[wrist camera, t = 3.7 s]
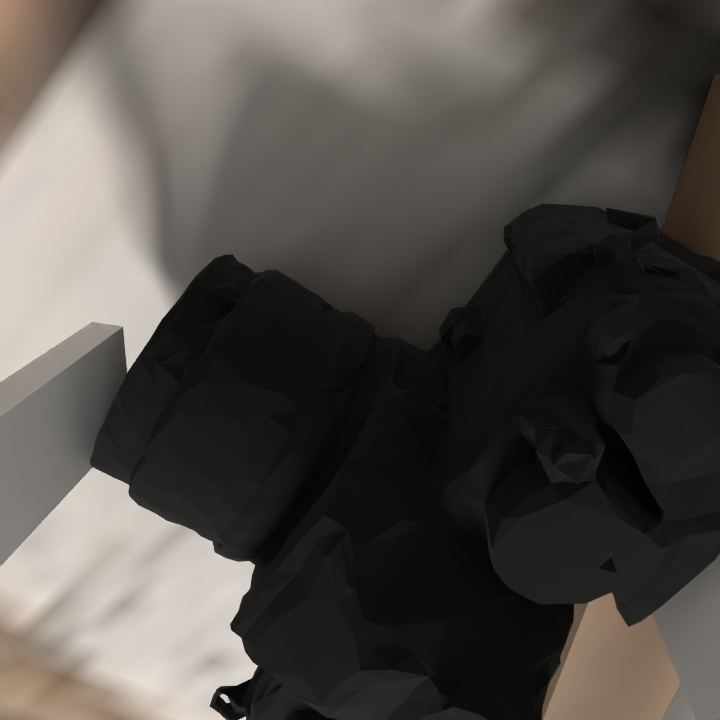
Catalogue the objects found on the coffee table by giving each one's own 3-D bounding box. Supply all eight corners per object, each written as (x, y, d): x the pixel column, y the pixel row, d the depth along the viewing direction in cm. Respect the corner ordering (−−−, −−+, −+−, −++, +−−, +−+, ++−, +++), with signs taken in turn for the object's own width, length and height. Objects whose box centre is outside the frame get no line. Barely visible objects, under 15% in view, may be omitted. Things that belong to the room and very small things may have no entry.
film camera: (363, 23, 13) (250, -107, 5) (691, 256, 14) (1051, 472, 6) (126, 470, 19) (-100, 750, 11) (368, 602, 20) (329, 938, 12)
